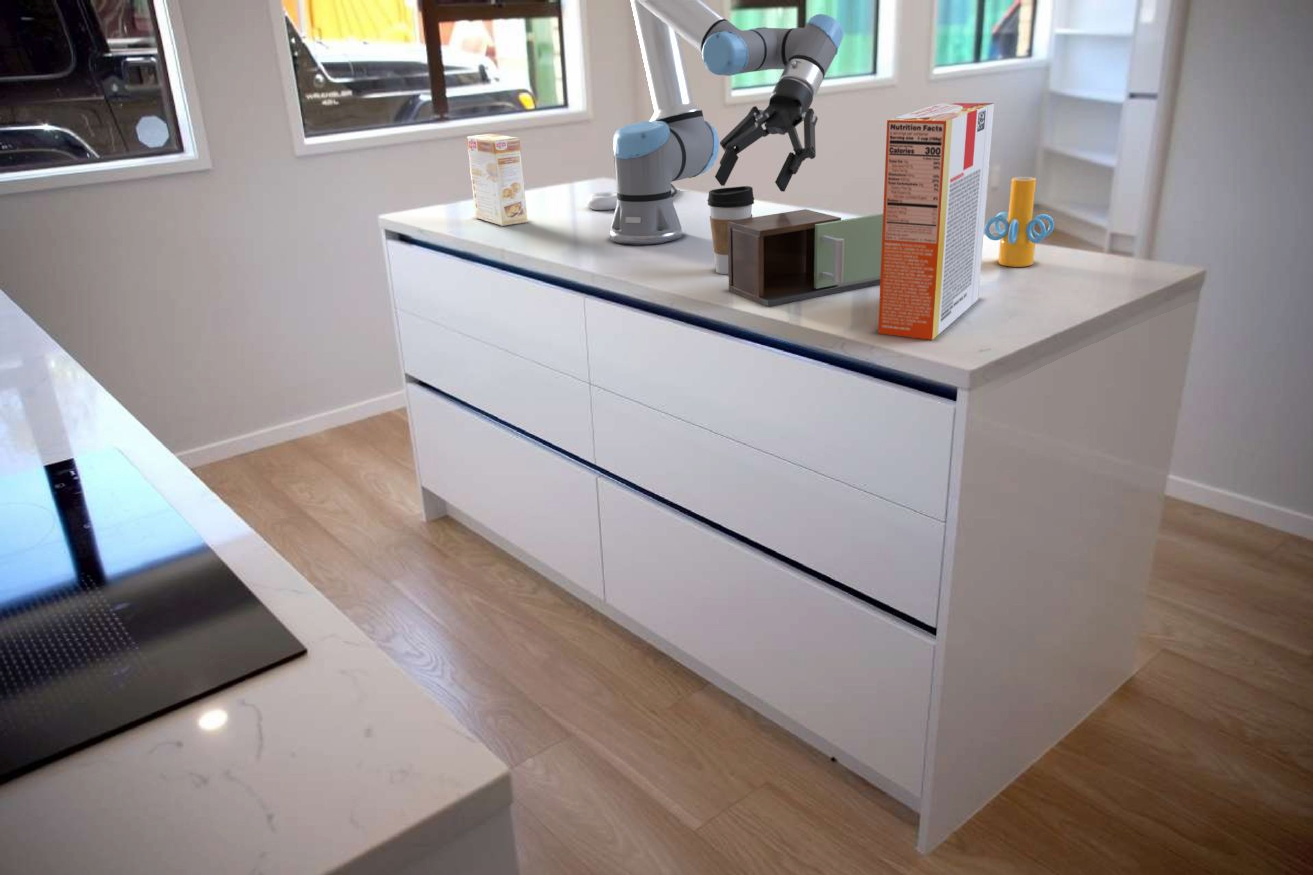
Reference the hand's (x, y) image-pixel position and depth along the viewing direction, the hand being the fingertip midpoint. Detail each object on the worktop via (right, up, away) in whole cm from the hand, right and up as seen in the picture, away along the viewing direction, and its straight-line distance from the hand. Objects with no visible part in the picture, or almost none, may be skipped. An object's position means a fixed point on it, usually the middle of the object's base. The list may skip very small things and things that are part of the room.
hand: (748, 184), depth 183 cm
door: (+17, -21, -16) cm, 32 cm away
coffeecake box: (-54, +6, +58) cm, 80 cm away
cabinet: (+10, -20, -11) cm, 25 cm away
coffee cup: (-3, -16, +2) cm, 16 cm away
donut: (-29, +11, +66) cm, 73 cm away
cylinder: (+48, -15, -3) cm, 50 cm away
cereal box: (+25, -28, -30) cm, 48 cm away
